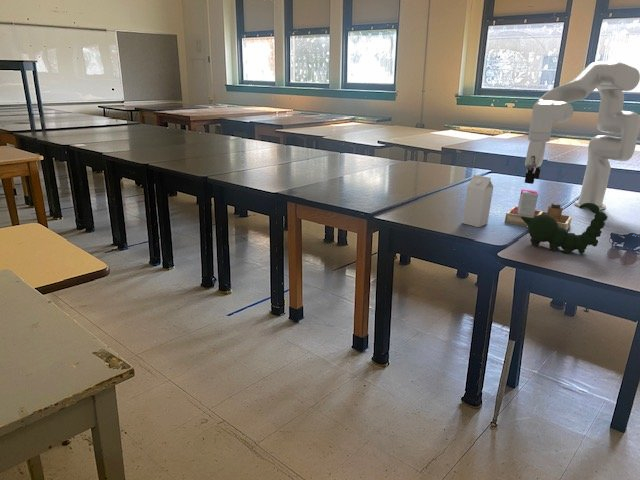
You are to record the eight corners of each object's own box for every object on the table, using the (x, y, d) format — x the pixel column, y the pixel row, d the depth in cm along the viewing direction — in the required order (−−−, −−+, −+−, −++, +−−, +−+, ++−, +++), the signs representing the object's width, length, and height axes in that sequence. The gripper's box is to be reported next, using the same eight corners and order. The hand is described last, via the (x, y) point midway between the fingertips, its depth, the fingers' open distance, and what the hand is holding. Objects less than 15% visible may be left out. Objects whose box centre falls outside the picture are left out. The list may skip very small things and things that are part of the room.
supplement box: (533, 222, 190) (538, 193, 186) (517, 220, 192) (522, 192, 188) (531, 217, 196) (536, 190, 192) (515, 216, 197) (520, 189, 193)
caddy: (512, 214, 202) (516, 194, 198) (570, 225, 190) (574, 203, 187) (504, 222, 191) (508, 200, 188) (564, 233, 180) (569, 210, 177)
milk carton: (471, 219, 193) (477, 173, 187) (487, 224, 189) (495, 176, 182) (461, 223, 188) (468, 175, 182) (478, 227, 184) (486, 179, 177)
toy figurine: (593, 257, 163) (517, 235, 175) (612, 204, 156) (532, 185, 168) (589, 265, 156) (511, 242, 168) (609, 211, 148) (526, 190, 160)
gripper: (533, 132, 191) (526, 175, 197) (523, 138, 177) (516, 183, 183) (554, 134, 187) (546, 177, 193) (545, 140, 173) (537, 186, 179)
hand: (531, 180), depth 188 cm, fingers open, 9 cm apart
